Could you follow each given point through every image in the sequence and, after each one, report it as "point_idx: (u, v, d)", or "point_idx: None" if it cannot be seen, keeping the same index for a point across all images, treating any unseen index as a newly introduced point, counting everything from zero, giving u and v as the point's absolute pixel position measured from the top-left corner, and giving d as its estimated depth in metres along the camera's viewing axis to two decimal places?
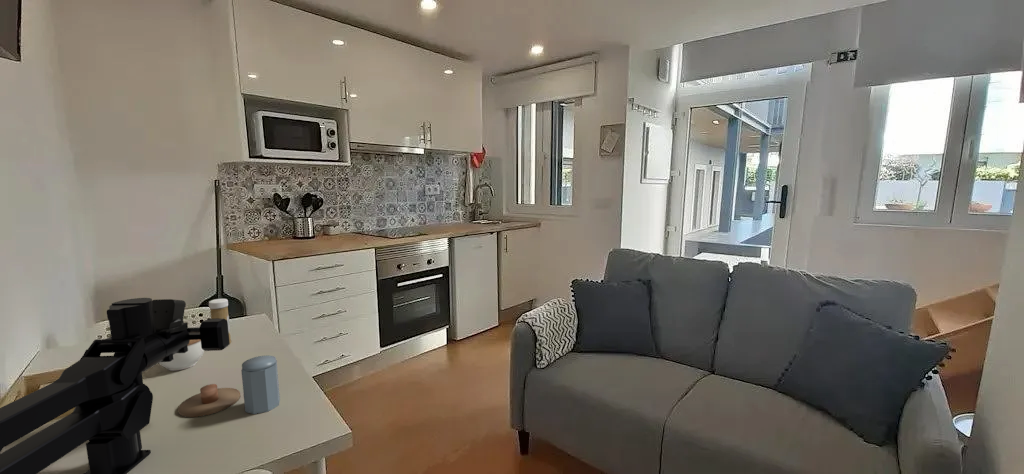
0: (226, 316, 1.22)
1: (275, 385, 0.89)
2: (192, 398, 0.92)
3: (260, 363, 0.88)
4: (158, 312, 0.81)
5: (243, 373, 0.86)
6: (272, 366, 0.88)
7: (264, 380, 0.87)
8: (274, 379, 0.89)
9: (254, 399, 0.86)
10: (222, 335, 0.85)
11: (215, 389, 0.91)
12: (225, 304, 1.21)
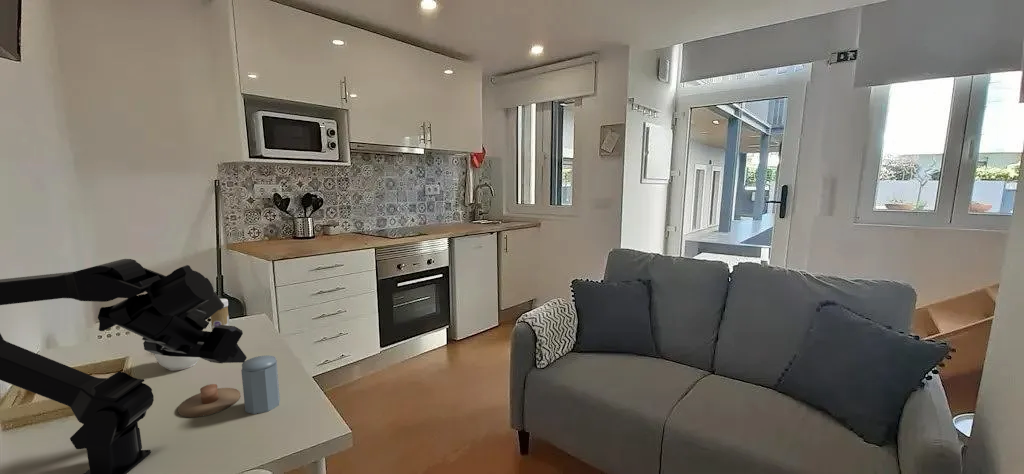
0: (226, 316, 1.22)
1: (275, 385, 0.89)
2: (192, 398, 0.92)
3: (260, 363, 0.88)
4: None
5: (243, 373, 0.86)
6: (272, 366, 0.88)
7: (264, 380, 0.87)
8: (274, 379, 0.89)
9: (254, 399, 0.86)
10: (227, 341, 0.73)
11: (215, 389, 0.91)
12: (225, 304, 1.21)
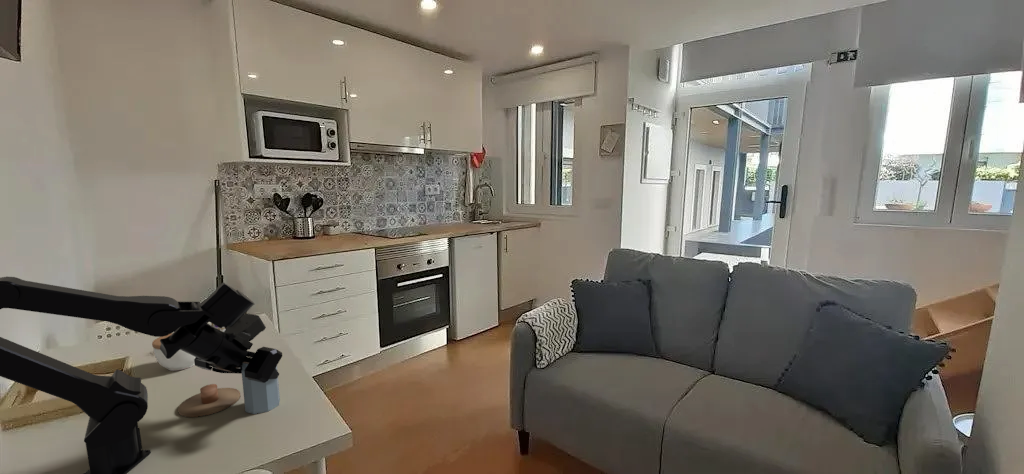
0: None
1: (275, 385, 0.89)
2: (192, 398, 0.92)
3: None
4: (241, 322, 0.85)
5: (243, 373, 0.86)
6: None
7: None
8: (274, 379, 0.89)
9: (254, 399, 0.87)
10: (269, 363, 0.80)
11: (215, 389, 0.91)
12: None
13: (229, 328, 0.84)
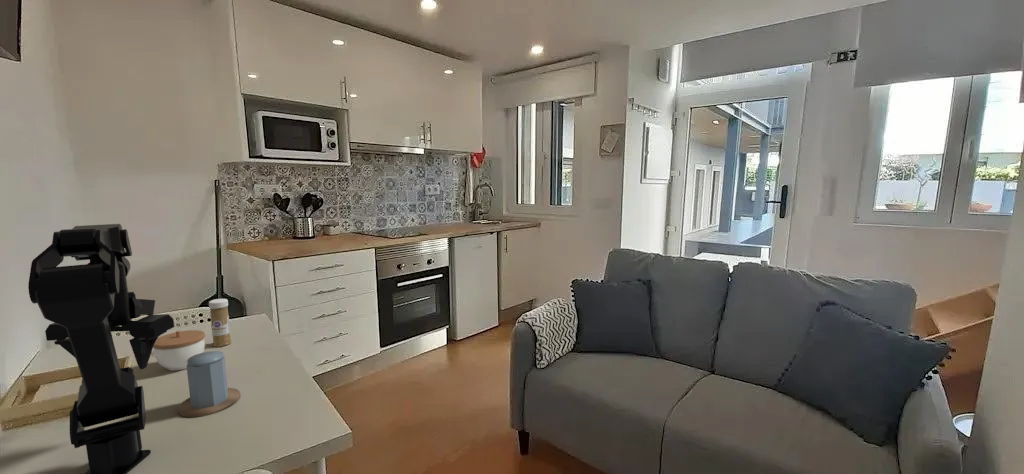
0: (226, 316, 1.22)
1: (222, 380, 0.90)
2: None
3: (206, 358, 0.89)
4: None
5: (188, 368, 0.87)
6: (218, 361, 0.89)
7: (209, 375, 0.88)
8: (220, 374, 0.90)
9: (199, 394, 0.87)
10: (164, 321, 0.80)
11: None
12: (225, 304, 1.21)
13: None
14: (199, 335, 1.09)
